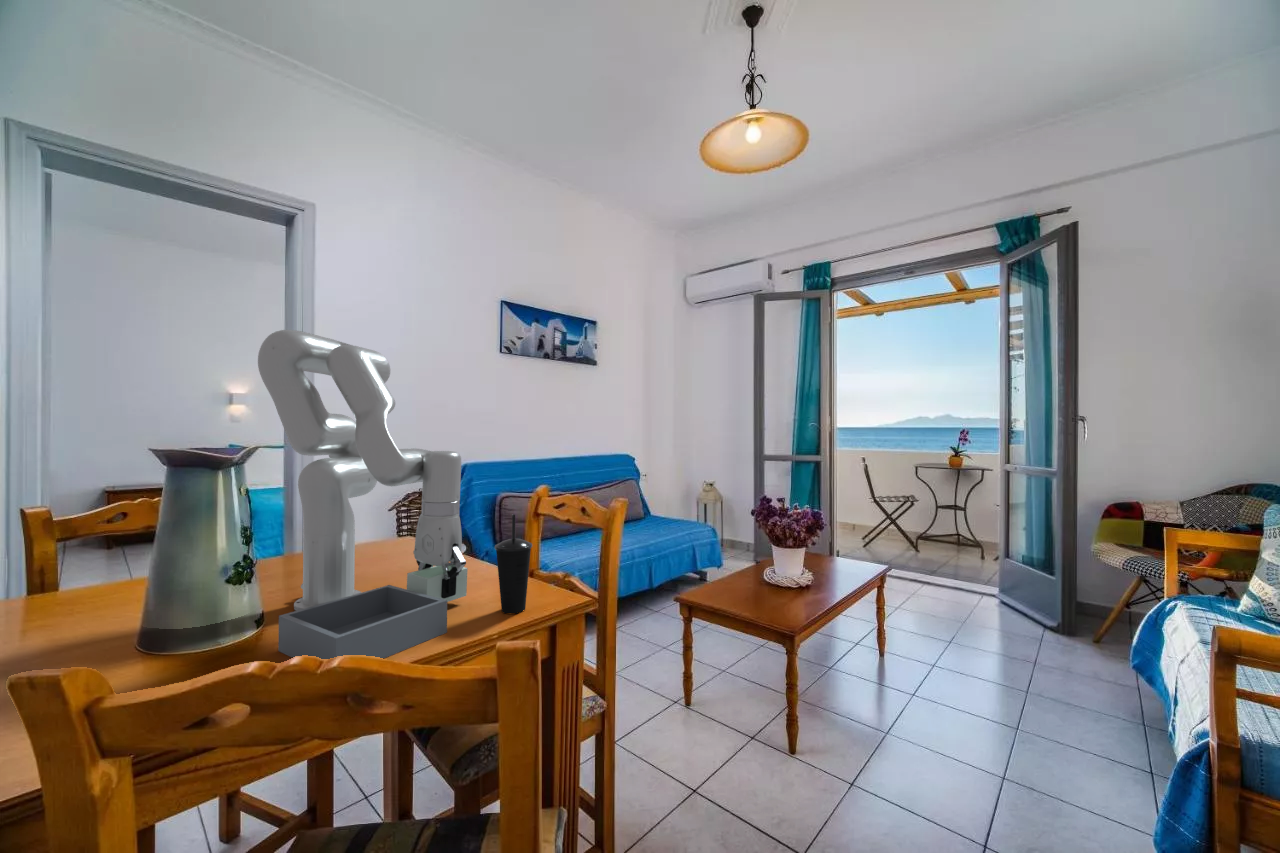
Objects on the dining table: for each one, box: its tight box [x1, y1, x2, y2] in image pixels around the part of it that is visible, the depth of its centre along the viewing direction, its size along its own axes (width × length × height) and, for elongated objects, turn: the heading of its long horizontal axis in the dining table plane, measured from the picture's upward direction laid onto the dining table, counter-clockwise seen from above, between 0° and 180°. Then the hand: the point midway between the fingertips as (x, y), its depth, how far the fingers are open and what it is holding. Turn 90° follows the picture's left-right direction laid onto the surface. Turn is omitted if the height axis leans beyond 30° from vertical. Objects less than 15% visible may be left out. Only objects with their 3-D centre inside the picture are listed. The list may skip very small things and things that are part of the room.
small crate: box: [406, 565, 469, 603], centre depth 106 cm, size 6×10×6 cm, turn 149°
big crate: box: [277, 584, 448, 659], centre depth 89 cm, size 18×20×6 cm
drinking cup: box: [494, 514, 533, 614], centre depth 105 cm, size 8×8×20 cm
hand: (437, 592), depth 106 cm, fingers closed on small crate, 6 cm apart
